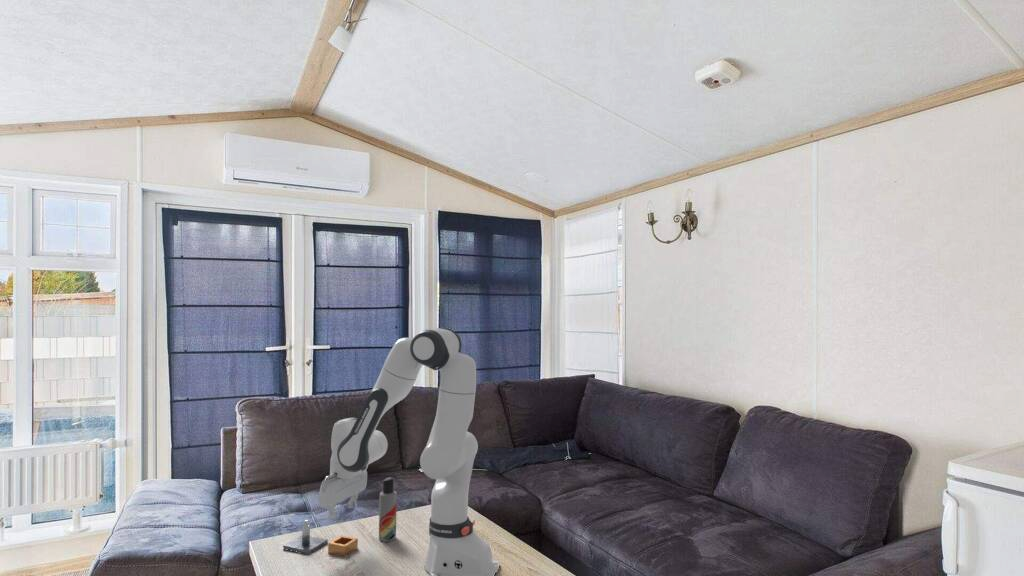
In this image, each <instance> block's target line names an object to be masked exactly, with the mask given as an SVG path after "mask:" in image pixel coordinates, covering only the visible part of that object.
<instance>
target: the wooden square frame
mask: <svg viewBox="0 0 1024 576" xmlns="http://www.w3.org/2000/svg"><path fill="white" fill-rule="evenodd" d="M358 540H359V539H358V537H351V536H347V535H340V536H338V537H336V538H334V539H333V540H331V541H330V542H328V543H327V545H328V546H327V549H328V550H327V553H328V554H332V555H336V556H342V557H346V556H348V555H349V554H351V553H353V552H354V551H355V550H357V549H358V547H359V546H358V545H359V543H358V542H359V541H358Z"/></svg>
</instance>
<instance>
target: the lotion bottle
mask: <svg viewBox="0 0 1024 576" xmlns="http://www.w3.org/2000/svg"><path fill="white" fill-rule="evenodd" d="M397 492H398V491H395V478H394V477H386V478H384V479H382V491H380V493H379V499H378V500H379V505H378V507H379V508H378V510H379V511H378V512H379V513H378V540H379V541H380V542H391V541H394V540H396V537H397V512H398V511H397V506H398V505H397V504H398V503H397V501H398V500H397V499H398V494H397Z"/></svg>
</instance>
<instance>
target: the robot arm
mask: <svg viewBox="0 0 1024 576" xmlns="http://www.w3.org/2000/svg"><path fill="white" fill-rule="evenodd" d="M462 346H463V344H462V339H461V337H460V336H459V333H457V332H455V331H454V330H452V329H449V328H439V327H435V328H434V327H433V328H430V329H423V330H421V331H420V332H418V333H417V334H416V335H414V336H413V338H410V337H402V338H399V339H398V340H396V341H395V343H394V345H393V346H392V348H391V349H390V351H389V352H388V355H387V357H386V358H385V361H384V363H383V365H382V368H381V370H380V373H379V375H378V378H377V380H376V382H375V384H374V386H373V387H372V389H371V391H370V393H369V394H368V397H367V399H366V400H365V401H364V404H363V406H362V408H361V409H360V412H359V414H358V416H357V417H348V418H347V417H346V418H343V419H340V420H337V421H336V422H335V423H334V425H333V426H332V427H333V428H332V431H331V439H330V440H331V441H330V442H331V444H330V448H331V457H330V461H329V475H326V476H325V477H324V479H323V480H322V482H321V484H320V487H319V493H318V501H317V504H318V506H319V508H323V509H327V511H328V518H329V519H332V520H333V519H335V518H337V516H338V511H336V510H335V508H336V505H338V504H339V503H342V502H343V501H345V500H347V499H350V500H349V502H348V503H347V506H348V508H349V509H354V508H355V507H356V502H357V501H358V497H359V493H361V492H363V491H365V490H366V487H367V483H368V471H367V469H368V467H369V465H370V464H372V463H374V462H375V461H378V460H379V459H381V458H382V457H384V456H385V455H386V454H387V451H388V448H389V442H388V439H387V436H386V435H385V433H383V432H382V431H381V430H378V429H377V427H378V425H379V423H380V421H381V420H382V419H381V418H382V417H383V416H384V415H385V414H386V412H388V411H389V410H390V409H392V407H394V406H395V405H396V404H398V403H400V401H403V400H404V399H405V398H406V397H407V396H408V395H409V393H410V392H411V390H412V389H413V388H414V386H415V385H414V384H415V383H416V380H417V378H418V375H419V373H420V370H421V368H422V367H423V366H425V367H427V368H429V369H431V370H433V371H439V374H440V381H439V390H438V397H437V399H438V400H437V407H436V414H435V418H434V421H433V425H432V427H431V431H430V433H429V437H428V440H427V443H426V446H425V447H424V449H423V451H422V452H421V456H420V458H419V465H420V468H421V471H422V472H423V473H424V475H425V476H426V477H428V478H429V479H432V480H435V482H434V486H433V488H432V491H431V494H430V495H431V499H430V501H431V503H430V507H431V508H430V517H429V523H428V524H429V525H428V527H429V528H428V529H429V530H428V533H429V542H428V551H427V555H426V560H425V563H424V569H425V571H426V572H427V573H428V574H429V576H493V575H495V573H496V572H497V571H498V569H499V570H500V568H499V565H500V561H499V560H498V559H495V558H493V554H492V553H493V552H492V548H491V545H490V544H489V543H488V542H486V541H485V540H484V538H482V537H481V536H480V535H479V534H478V533H477V532H475V530H474V525H476V520H475V519H474V520H473V521H472V520H471V519H470V517H469V516H468V513H469V512H468V506H469V490H470V483H471V478H472V472H473V468H474V462H475V459H476V455H477V453H478V450H479V446H478V445H479V444H478V440H477V439H476V436H475V435H474V434H473V433H472V432H470V431H468V430H469V427H470V425H471V422H472V420H473V417H474V411H475V410H474V408H475V399H476V391H477V364H476V362H475V361H476V360H475V359H474V358H473V357H471V356H470V355H468V354H465V353H461V351H462ZM495 565H497V566H495ZM498 572H499V571H498ZM498 572H497V573H498ZM495 576H496V575H495Z"/></svg>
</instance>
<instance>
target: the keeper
mask: <svg viewBox="0 0 1024 576" xmlns="http://www.w3.org/2000/svg"><path fill="white" fill-rule="evenodd" d="M301 526H302V527H301V528H302V529H301V535H299V537H296V538H295V539H293V540H291V541H289V542H287V543H285V544H284V545H283V546H282V548H284V549H288V550H292V551H291V552H293V551H297V552H296V553H298V552H300V553H299V554H303V553H304V555H307V554H308V555H311V554H312V553H314V552H316V551H317V550H319V549H320V548H322V547H325V546H326V545H328V543H329V542H328V539H326V538H321V537H318V536H317V537H316V536H311V521H310V520H309V519H305V520H303V522H302V524H301ZM288 550H287V551H288ZM310 553H311V554H310Z"/></svg>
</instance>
